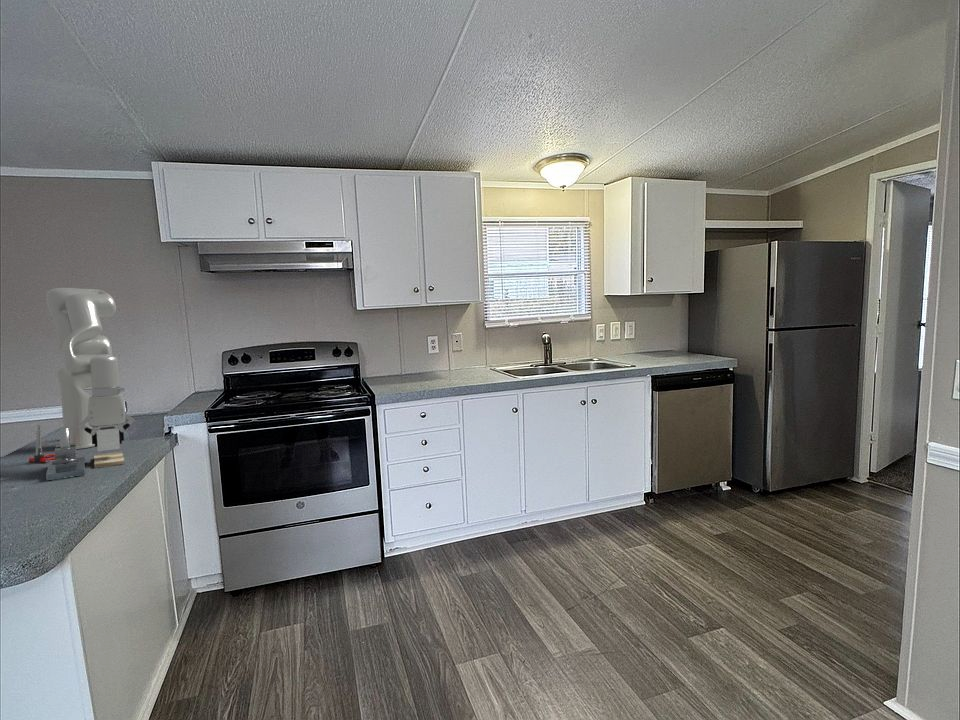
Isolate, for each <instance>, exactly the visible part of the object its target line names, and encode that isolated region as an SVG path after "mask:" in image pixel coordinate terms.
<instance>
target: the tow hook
mask: <svg viewBox="0 0 960 720" xmlns="http://www.w3.org/2000/svg"><path fill="white" fill-rule="evenodd" d="M36 426H37V427H36V428H37V429H36V446H35V454H34V455H33V457H30V458H28V462H29V461H34V462H33V463H35V462H46V461H49V460H55V457H49V458H44V457H47V456H55V453H53V454H43V446H42V430H41V424H37V425H36ZM49 462H50V461H49Z"/></svg>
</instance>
